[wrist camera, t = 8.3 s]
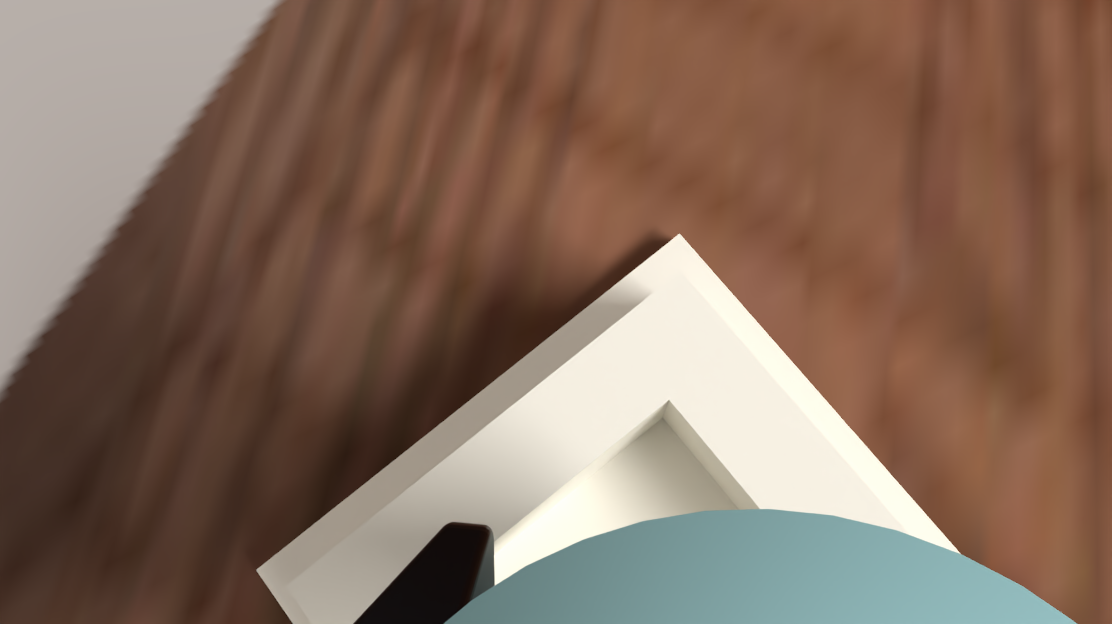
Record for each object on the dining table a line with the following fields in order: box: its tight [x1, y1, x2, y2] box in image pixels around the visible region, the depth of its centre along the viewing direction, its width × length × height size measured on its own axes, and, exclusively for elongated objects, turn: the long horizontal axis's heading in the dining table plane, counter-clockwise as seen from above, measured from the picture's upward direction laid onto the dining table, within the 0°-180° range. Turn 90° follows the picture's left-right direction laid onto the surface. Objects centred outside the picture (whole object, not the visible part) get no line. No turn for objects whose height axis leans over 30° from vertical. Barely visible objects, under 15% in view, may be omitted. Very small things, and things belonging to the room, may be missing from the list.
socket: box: [256, 234, 960, 624], centre depth 20 cm, size 12×12×4 cm
